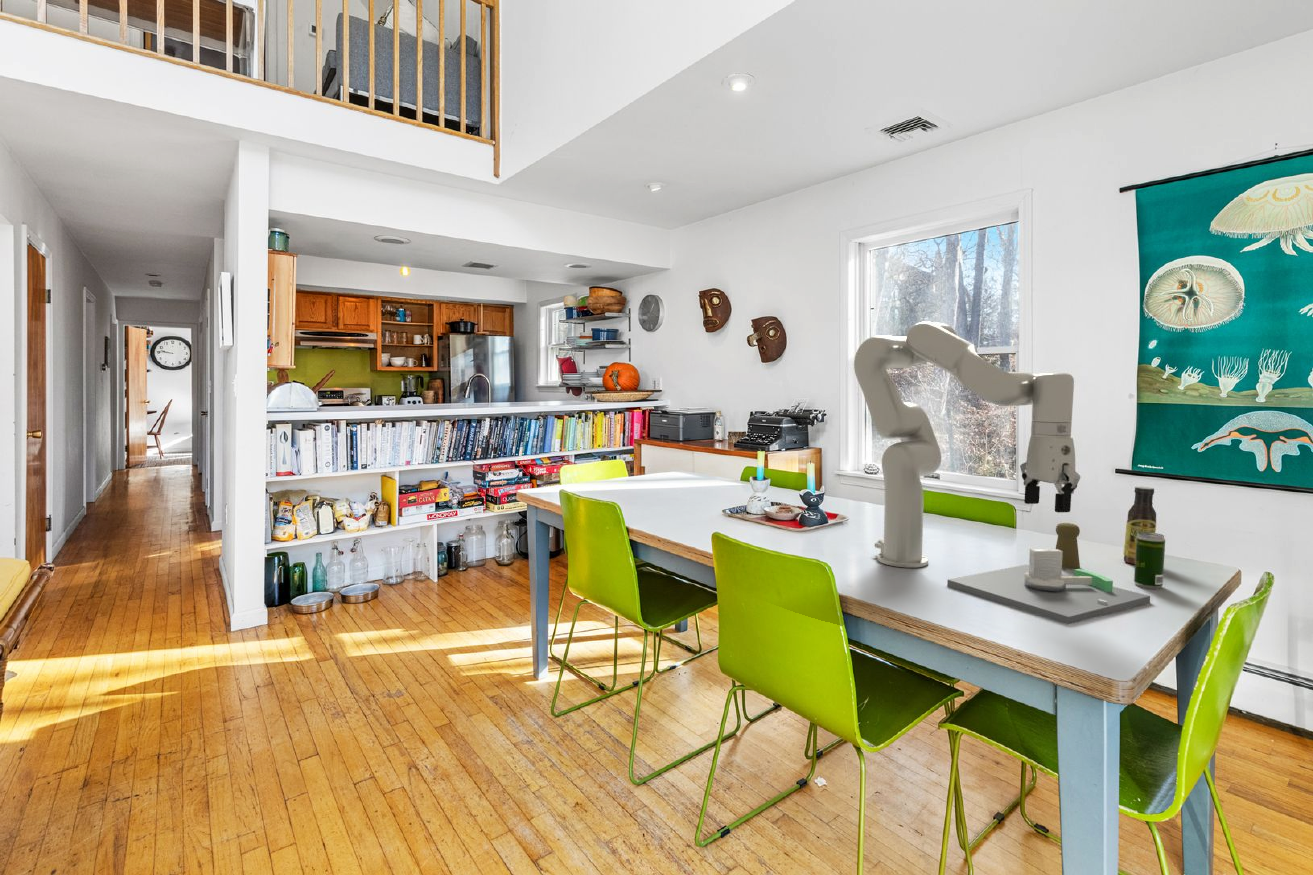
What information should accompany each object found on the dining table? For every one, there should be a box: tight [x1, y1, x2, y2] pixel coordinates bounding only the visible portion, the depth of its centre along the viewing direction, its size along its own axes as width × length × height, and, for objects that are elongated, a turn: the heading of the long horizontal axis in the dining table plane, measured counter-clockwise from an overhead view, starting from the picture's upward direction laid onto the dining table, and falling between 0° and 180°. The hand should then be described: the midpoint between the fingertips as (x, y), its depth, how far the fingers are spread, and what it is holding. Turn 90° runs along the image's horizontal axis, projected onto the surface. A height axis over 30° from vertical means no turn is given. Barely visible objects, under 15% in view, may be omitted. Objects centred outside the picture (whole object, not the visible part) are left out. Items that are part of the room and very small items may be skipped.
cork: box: [1055, 522, 1081, 570], centre depth 170 cm, size 6×6×11 cm
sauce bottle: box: [1123, 486, 1157, 565], centre depth 172 cm, size 7×6×20 cm
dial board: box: [946, 564, 1151, 625], centre depth 147 cm, size 28×28×4 cm
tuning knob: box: [1024, 548, 1093, 591], centre depth 147 cm, size 14×8×8 cm, turn 88°
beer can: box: [1133, 532, 1166, 590], centre depth 153 cm, size 5×5×12 cm
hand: (1046, 507), depth 146 cm, fingers open, 9 cm apart
